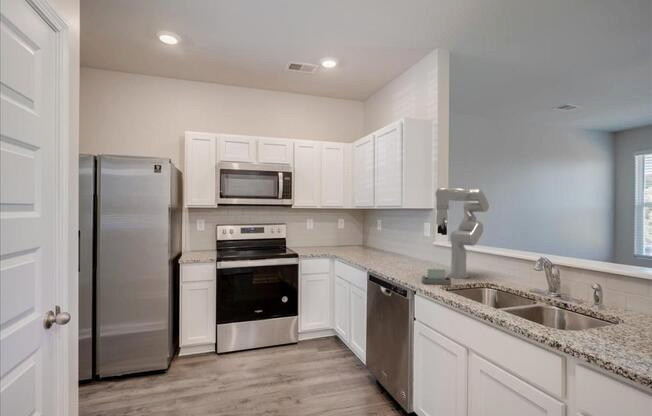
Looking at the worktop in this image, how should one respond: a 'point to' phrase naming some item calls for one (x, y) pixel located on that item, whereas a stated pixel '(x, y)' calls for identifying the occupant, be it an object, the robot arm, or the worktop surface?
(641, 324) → the worktop surface
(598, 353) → the worktop surface
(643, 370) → the worktop surface
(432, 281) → the door track
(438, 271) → the door panel
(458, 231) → the robot arm
